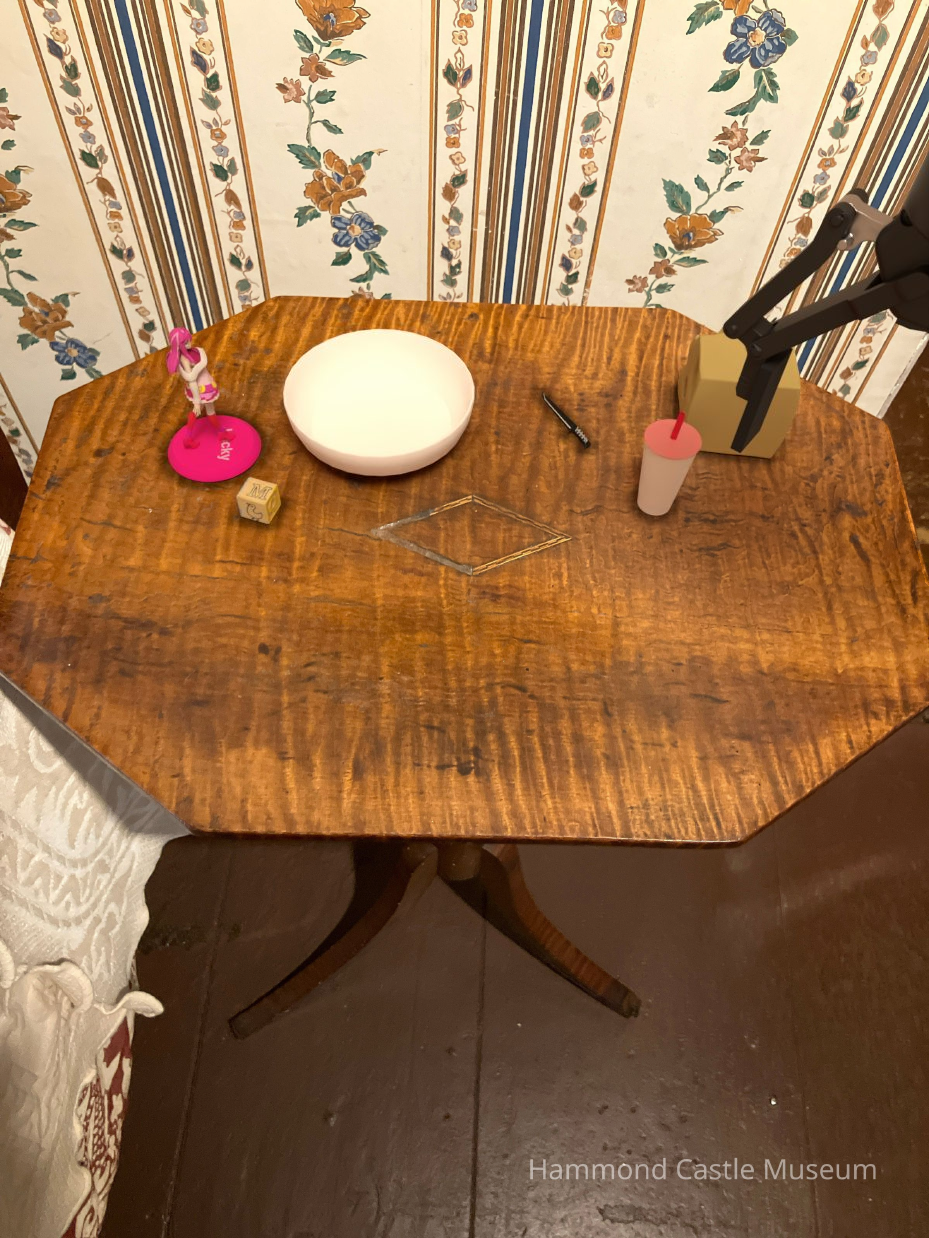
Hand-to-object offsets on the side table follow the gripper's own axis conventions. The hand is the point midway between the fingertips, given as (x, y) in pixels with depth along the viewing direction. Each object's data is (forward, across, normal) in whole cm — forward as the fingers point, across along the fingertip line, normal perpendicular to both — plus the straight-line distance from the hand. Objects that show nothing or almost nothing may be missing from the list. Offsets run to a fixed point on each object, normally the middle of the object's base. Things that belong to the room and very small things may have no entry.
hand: (842, 489), depth 55 cm
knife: (+27, -31, +20) cm, 46 cm away
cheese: (+27, -17, +31) cm, 44 cm away
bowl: (+27, -45, +6) cm, 53 cm away
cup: (+27, -17, +16) cm, 36 cm away
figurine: (+27, -57, -7) cm, 63 cm away
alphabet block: (+27, -47, -10) cm, 55 cm away
